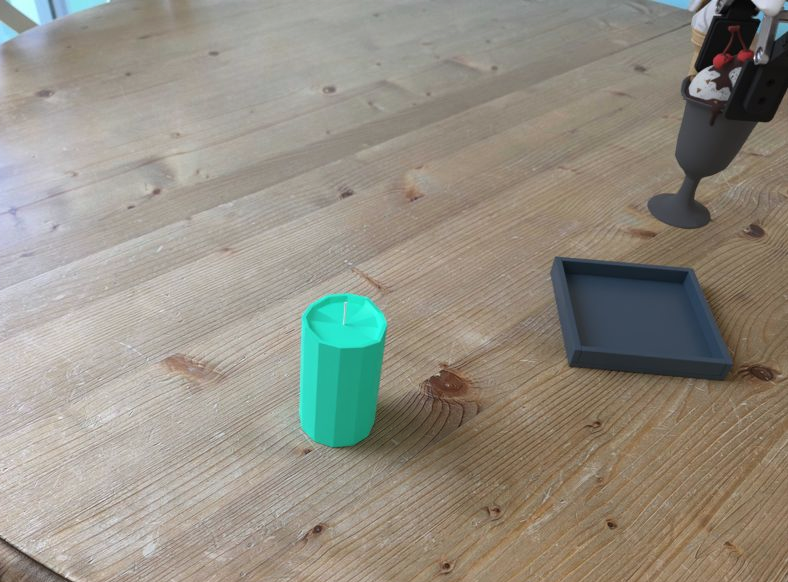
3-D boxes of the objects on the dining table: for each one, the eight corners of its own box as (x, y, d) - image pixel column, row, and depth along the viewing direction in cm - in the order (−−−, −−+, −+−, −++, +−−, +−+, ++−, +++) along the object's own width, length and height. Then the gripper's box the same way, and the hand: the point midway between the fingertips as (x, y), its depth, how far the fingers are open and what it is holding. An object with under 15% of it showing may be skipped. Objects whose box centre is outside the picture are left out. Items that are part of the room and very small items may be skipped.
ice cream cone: (670, 86, 106) (712, -27, 96) (710, 97, 104) (758, -17, 94) (658, 99, 103) (700, -16, 92) (699, 112, 101) (747, -5, 90)
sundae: (621, 211, 60) (692, 22, 50) (657, 180, 64) (731, -3, 54) (700, 247, 57) (793, 52, 47) (734, 212, 61) (827, 24, 50)
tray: (685, 284, 73) (693, 268, 72) (724, 380, 64) (734, 364, 63) (550, 272, 74) (555, 256, 73) (568, 366, 65) (574, 349, 63)
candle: (316, 457, 56) (323, 341, 48) (287, 402, 60) (288, 286, 52) (387, 434, 58) (405, 319, 50) (354, 382, 62) (366, 267, 54)
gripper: (1024, -182, 35) (830, 160, 47) (866, -231, 47) (745, 50, 60) (859, -192, 35) (709, 150, 48) (745, -238, 48) (650, 43, 60)
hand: (730, 92), depth 54 cm, fingers closed on sundae, 6 cm apart
